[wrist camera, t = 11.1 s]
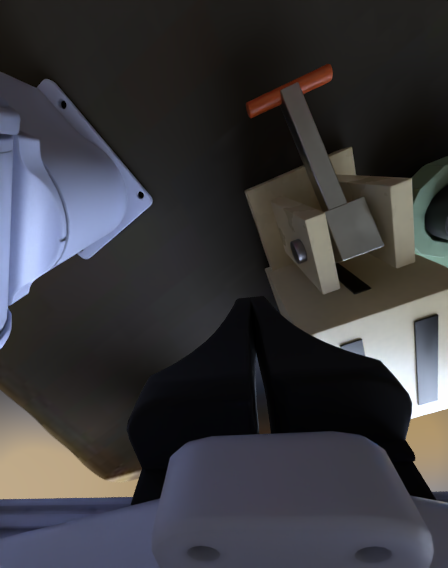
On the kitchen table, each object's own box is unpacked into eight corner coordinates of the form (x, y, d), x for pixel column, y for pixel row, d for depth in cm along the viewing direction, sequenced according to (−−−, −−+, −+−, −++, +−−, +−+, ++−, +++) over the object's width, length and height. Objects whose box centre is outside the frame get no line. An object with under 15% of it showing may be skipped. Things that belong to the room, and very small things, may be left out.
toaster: (264, 267, 22) (300, 337, 13) (362, 230, 21) (479, 278, 12) (291, 346, 26) (334, 441, 17) (374, 319, 25) (467, 405, 16)
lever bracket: (244, 190, 19) (266, 206, 11) (344, 147, 18) (447, 131, 10) (269, 266, 22) (302, 322, 14) (356, 233, 21) (445, 273, 13)
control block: (366, 181, 19) (396, 184, 16) (472, 138, 18) (527, 132, 15) (380, 301, 24) (405, 321, 21) (464, 272, 23) (504, 289, 20)
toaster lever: (246, 118, 16) (244, 88, 13) (321, 83, 15) (333, 45, 13) (307, 273, 15) (316, 270, 13) (387, 243, 14) (413, 235, 12)
